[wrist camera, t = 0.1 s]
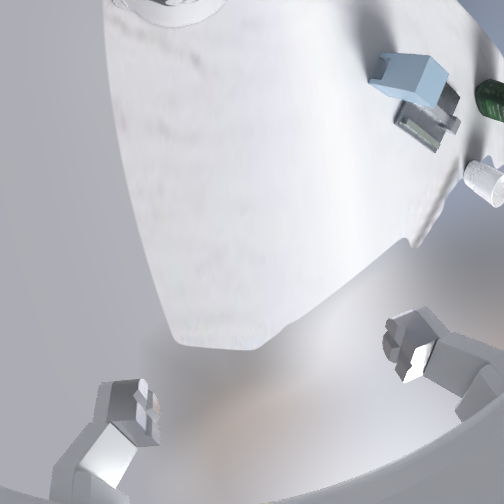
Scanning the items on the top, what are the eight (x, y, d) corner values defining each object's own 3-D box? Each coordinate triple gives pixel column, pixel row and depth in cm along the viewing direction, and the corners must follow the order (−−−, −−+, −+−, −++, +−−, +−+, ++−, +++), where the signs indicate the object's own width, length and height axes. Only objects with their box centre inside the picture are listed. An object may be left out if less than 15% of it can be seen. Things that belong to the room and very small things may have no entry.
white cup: (458, 187, 55) (487, 207, 47) (465, 156, 51) (497, 173, 43) (476, 188, 57) (504, 207, 49) (483, 159, 52) (513, 175, 44)
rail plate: (393, 123, 45) (407, 129, 42) (421, 62, 38) (435, 64, 35) (431, 151, 49) (444, 158, 46) (456, 96, 43) (470, 100, 39)
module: (368, 83, 40) (414, 92, 30) (383, 50, 37) (431, 52, 27) (387, 96, 42) (434, 109, 32) (401, 63, 38) (450, 70, 29)
